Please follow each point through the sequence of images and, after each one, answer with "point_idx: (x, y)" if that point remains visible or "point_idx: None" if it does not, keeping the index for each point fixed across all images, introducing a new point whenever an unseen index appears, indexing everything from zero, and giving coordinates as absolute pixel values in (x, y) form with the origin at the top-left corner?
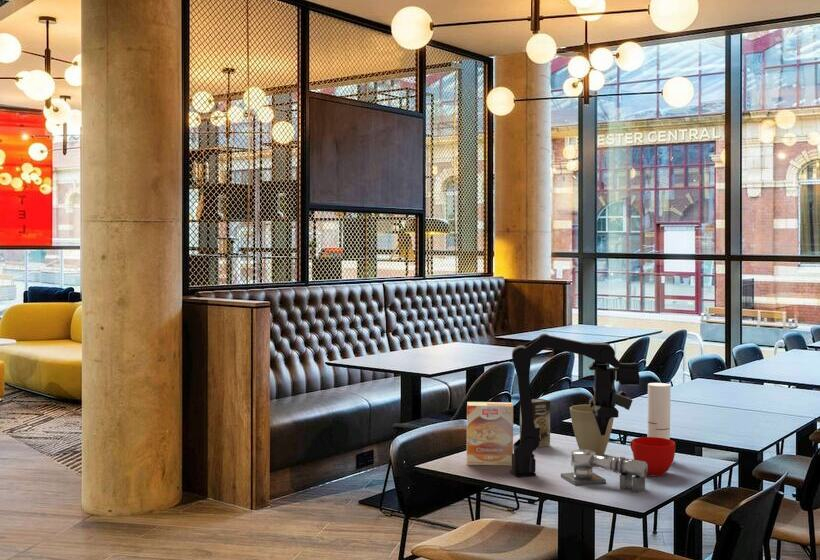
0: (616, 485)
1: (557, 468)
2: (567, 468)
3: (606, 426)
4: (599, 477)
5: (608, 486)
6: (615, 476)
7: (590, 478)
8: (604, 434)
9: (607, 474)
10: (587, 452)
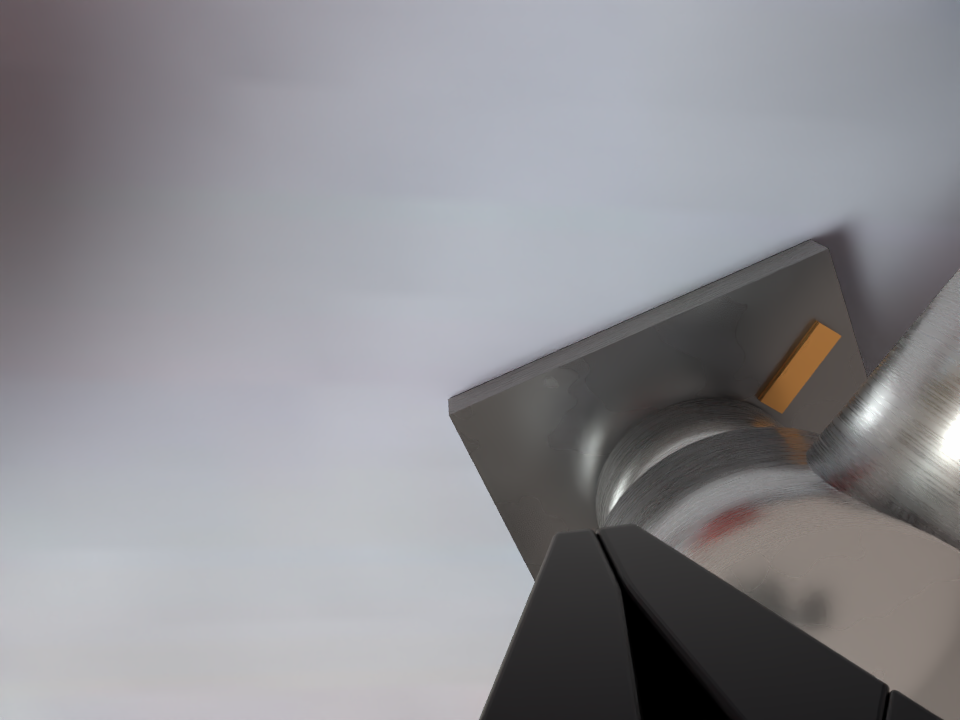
0: (916, 117)
1: (255, 710)
2: (227, 625)
3: (864, 688)
4: (731, 320)
5: (955, 216)
6: (488, 101)
7: (783, 420)
8: (643, 540)
9: (404, 201)
10: (846, 644)
